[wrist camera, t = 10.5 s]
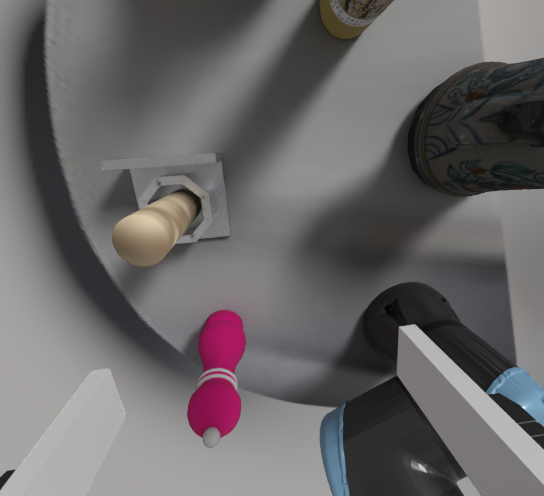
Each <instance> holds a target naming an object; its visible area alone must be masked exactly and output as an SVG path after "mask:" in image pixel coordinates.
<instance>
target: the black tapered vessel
mask: <svg viewBox="0 0 544 496" xmlns="http://www.w3.org/2000/svg"><path fill="white" fill-rule="evenodd" d="M408 155H409V158H410V162H411V166H412V169H413V171H414V172H415V173H416V174H417V175H418V177H419V178H420V179H421V180H422V181H423V182H424V184H427V185H429V186H431V187H433V188H434V189H436V190H438V191H440V192H442V193H444V194H448V195H452V196H472V195H478V194H481V193H484V192H489V191H499V190H521V189H544V58H541V59H536V60H531V61H526V62H521V63H515V64H507V63H502V62H483V63H478V64H475V65H472V66H469V67H466V68H464V69H462V70H460V71H459V72H457V73H455V74H454V75H452V76H451V77H449V78H448V79H447V80H446V81H445V82H443V83H442V84H440V85H439V86H437V87H436V88H434V90H433V91H432V92H431V93H430V94H429V95H428V96H427V97H426V99H425V100H424V101H423V102H422V103H421V104H420V105H419V106H418V109H417V112H416V114H415V117H414V119H413V122H412V125H411V127H410V130H409V134H408Z"/></svg>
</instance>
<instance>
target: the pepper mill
mask: <svg viewBox="0 0 544 496" xmlns="http://www.w3.org/2000/svg"><path fill="white" fill-rule="evenodd" d="M245 345H246V337H245V334H244V332H243V323H242V320H241V318H240V317H239V316H238V315H237V314H236V313H234V312H232V311H228V310H221V311H217V312H215V313H213V314H212V315H210V316H209V318H208V319H207V321H206V325H205V328H204V329H203V331H202V332H201V334H200V337H199V342H198V349H199V354H200V357H201V359H202V361H203V365H204V370H203V374H202V375H201V376H200V377H199V379H198V384H197V387H196V391H195V392H194V393H193V395H192V397H191V399H190V402H189V405H188V412H187V415H188V421H189V424H190V427H191V428H192V430H193V431H194V432H195V433H196V434H197V435H199V436H200V437H202V438H203V443H204V445H205V446H206V447H208V448H213V447H215V446H216V445H217V444H218V443H219V440H220V438H221V437H223V436H225V435H227V434H228V433H229V432H231V431H232V430H233V428H234V427H235V426H236V424H237V422H238V420H239V417H240V413H241V400H240V397H239V395H238V393H237V385H238V382H237V378H236V376H235V375H234V373H235V368H236V366H237V364H238V363H239V361H240V359H241V358H242V356H243V353H244V351H245Z"/></svg>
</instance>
